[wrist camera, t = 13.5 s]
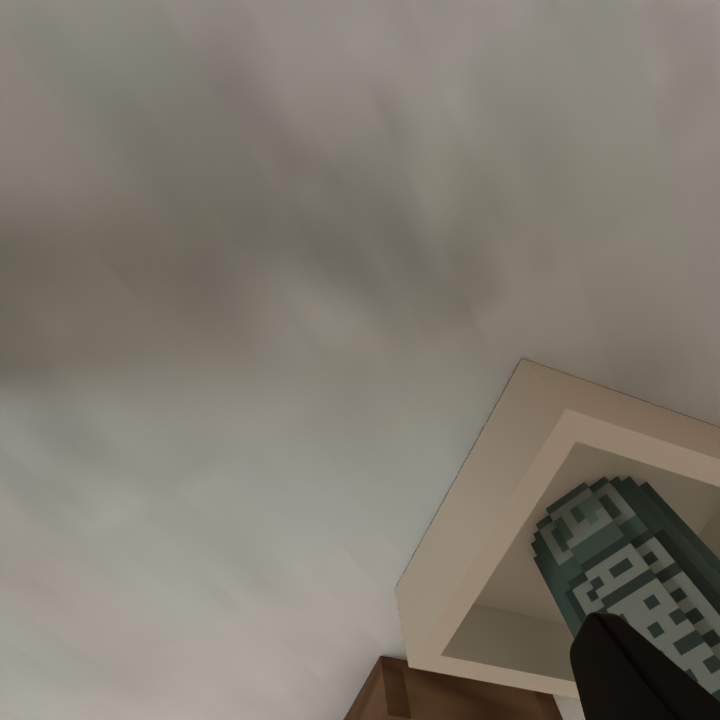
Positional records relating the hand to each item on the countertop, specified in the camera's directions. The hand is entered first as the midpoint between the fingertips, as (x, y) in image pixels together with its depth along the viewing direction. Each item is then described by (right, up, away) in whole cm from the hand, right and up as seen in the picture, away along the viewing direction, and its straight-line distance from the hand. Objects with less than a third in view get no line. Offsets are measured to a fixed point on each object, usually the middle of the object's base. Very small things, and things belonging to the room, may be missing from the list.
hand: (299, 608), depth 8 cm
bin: (+11, -4, +17) cm, 21 cm away
